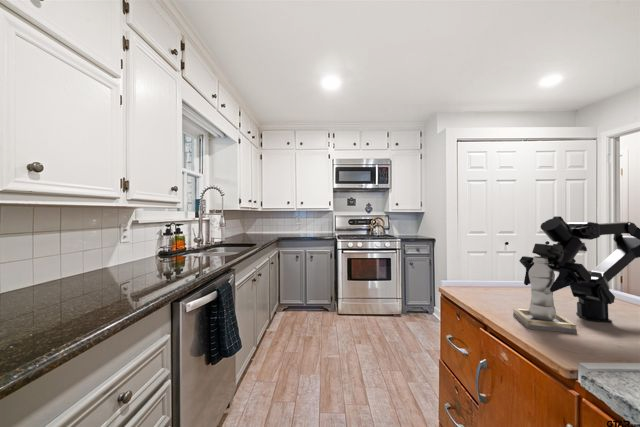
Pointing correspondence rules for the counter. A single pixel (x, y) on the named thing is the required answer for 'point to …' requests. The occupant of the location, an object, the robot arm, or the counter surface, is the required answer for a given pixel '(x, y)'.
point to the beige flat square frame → (544, 322)
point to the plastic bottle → (541, 290)
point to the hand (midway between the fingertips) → (537, 287)
